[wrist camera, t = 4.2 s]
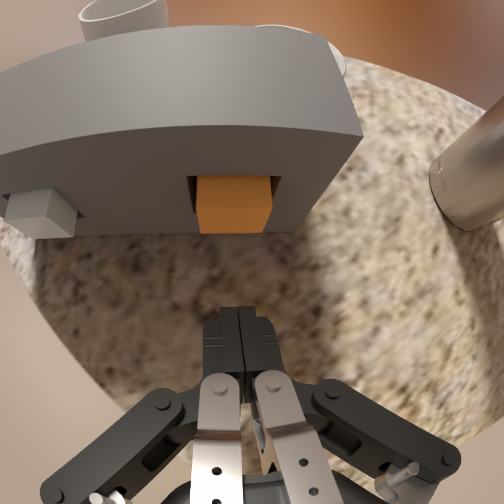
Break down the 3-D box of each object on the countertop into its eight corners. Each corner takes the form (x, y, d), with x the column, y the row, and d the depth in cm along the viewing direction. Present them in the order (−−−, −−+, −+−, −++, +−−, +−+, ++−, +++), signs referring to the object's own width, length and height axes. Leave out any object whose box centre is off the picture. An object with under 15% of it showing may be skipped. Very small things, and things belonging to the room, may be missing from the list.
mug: (156, 129, 23) (133, 18, 12) (99, 119, 23) (60, 26, 11) (198, 66, 26) (198, -27, 14) (146, 60, 26) (133, -24, 14)
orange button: (258, 181, 18) (267, 148, 14) (261, 232, 17) (272, 208, 14) (201, 181, 17) (198, 147, 14) (200, 233, 17) (196, 208, 13)
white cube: (81, 188, 16) (59, 160, 13) (73, 237, 16) (46, 216, 12) (42, 192, 16) (17, 169, 13) (33, 239, 15) (3, 220, 12)
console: (284, 146, 24) (324, 35, 12) (294, 232, 22) (363, 136, 10) (53, 159, 21) (-6, 76, 10) (35, 238, 19) (-56, 174, 8)
